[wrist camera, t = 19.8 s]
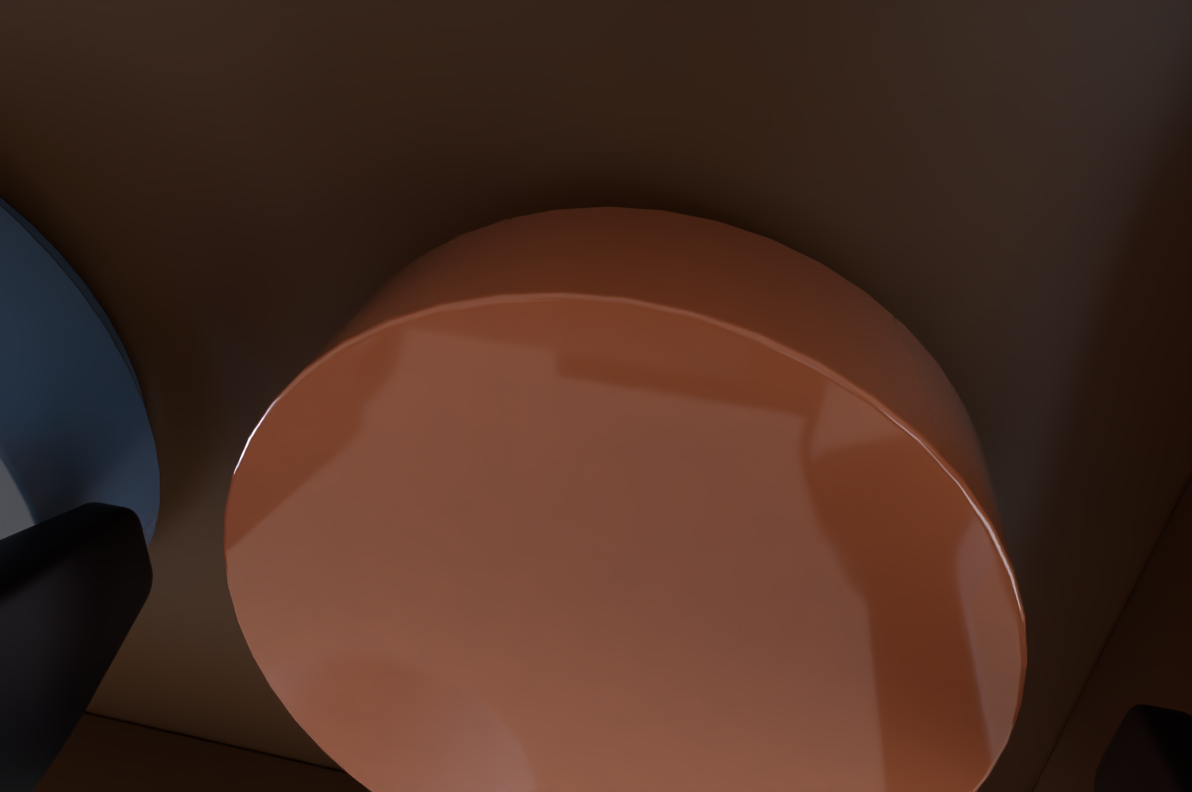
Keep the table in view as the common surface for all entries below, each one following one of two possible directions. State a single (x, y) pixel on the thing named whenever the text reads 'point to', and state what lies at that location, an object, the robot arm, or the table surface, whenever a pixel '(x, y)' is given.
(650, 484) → the puck terracotta
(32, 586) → the robot arm
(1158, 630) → the tray
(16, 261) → the blue puck
